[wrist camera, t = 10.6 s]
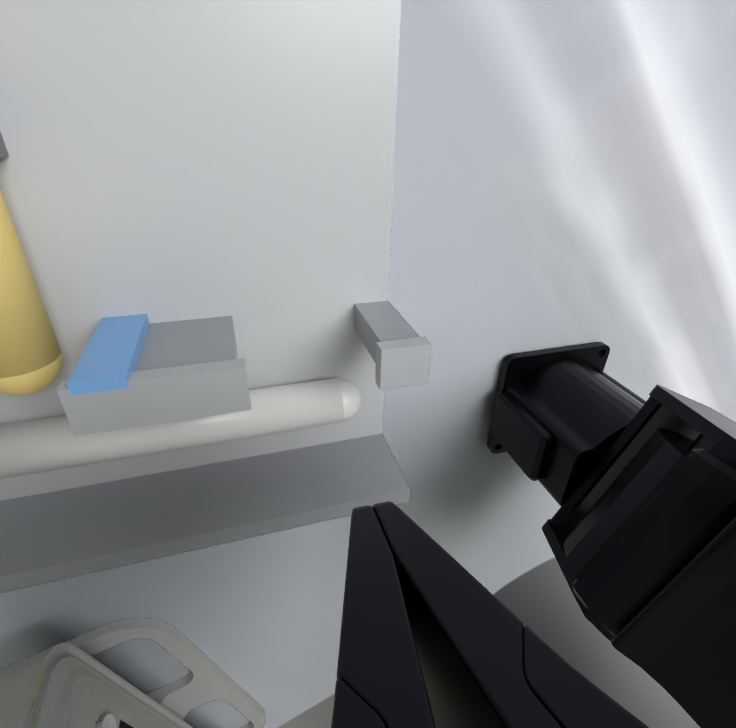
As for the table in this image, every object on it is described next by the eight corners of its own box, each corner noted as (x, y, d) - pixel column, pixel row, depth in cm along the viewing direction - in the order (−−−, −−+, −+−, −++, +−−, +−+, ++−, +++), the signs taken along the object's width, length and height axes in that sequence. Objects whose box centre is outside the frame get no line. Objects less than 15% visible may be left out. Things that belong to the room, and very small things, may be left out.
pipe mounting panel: (395, -6, 14) (471, -56, 10) (378, 438, 24) (414, 512, 19) (-439, -84, 9) (-991, -244, 5) (-47, 514, 19) (-126, 635, 14)
